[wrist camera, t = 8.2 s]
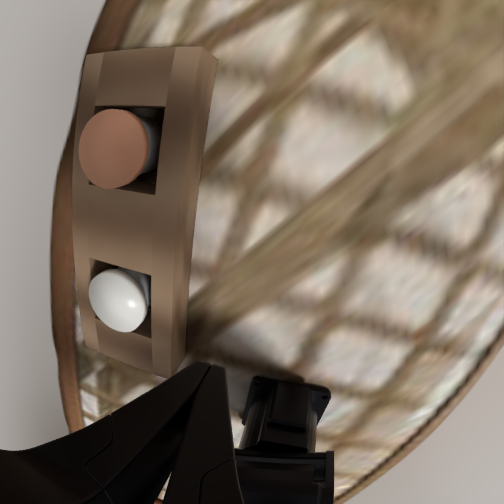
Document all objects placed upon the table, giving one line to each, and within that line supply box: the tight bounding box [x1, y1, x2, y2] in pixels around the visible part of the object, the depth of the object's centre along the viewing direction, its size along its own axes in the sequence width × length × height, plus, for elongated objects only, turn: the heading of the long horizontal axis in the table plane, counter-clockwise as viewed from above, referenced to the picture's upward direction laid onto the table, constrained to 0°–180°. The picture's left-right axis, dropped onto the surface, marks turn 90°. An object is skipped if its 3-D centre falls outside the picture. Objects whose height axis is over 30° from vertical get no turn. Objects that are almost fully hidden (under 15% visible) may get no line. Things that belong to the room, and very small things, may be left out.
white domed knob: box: [89, 267, 151, 332], centre depth 21 cm, size 4×4×4 cm
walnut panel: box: [72, 47, 218, 379], centre depth 19 cm, size 22×8×3 cm, turn 171°
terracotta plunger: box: [79, 109, 162, 189], centre depth 16 cm, size 4×4×4 cm
